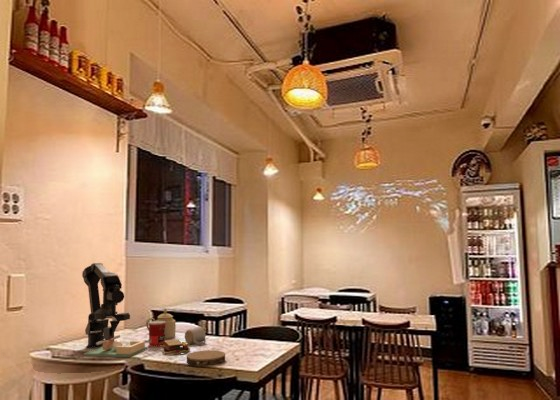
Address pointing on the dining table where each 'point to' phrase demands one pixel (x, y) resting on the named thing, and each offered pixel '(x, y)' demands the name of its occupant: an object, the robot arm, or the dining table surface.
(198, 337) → the ceramic mug
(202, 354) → the brown round disc
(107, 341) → the kicker rod
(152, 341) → the canned food
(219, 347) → the dining table surface
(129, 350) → the pitch
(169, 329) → the cream teapot
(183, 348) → the toy sandwich meal
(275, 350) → the dining table surface
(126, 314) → the robot arm
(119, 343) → the ball
